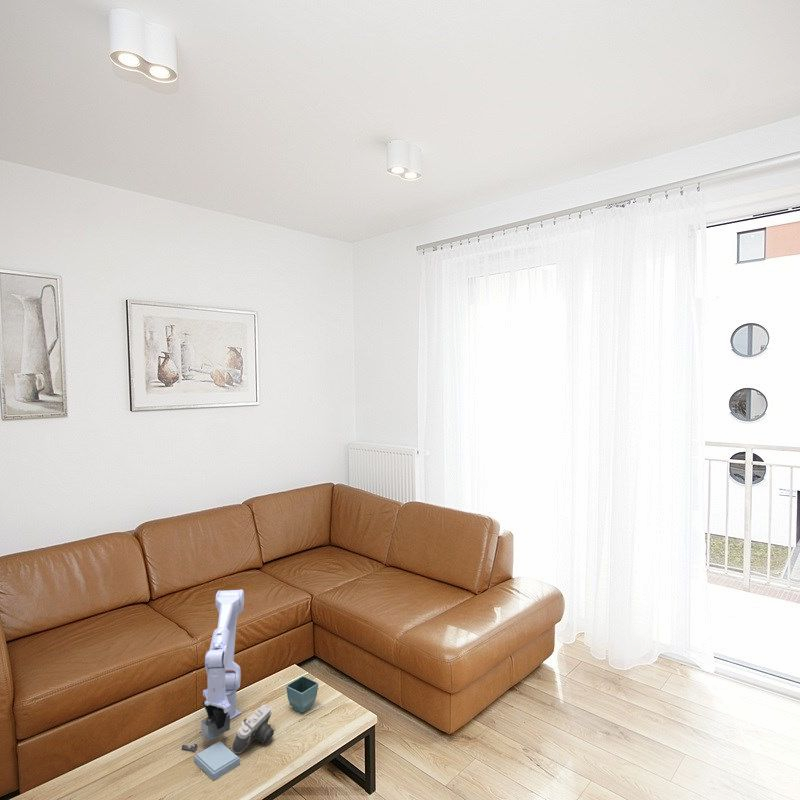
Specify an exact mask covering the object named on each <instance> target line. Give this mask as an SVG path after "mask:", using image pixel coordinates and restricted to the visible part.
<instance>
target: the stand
mask: <svg viewBox="0 0 800 800" xmlns="http://www.w3.org/2000/svg"><path fill="white" fill-rule="evenodd" d="M236 754H237V753H234V752H233V751H232V749H230V748H228V747H227V746H226V745H225V744H224V743H223V742H222V741H220V740H219V741H217V742H215V743H214V744H212V745H210V746H209V747H206V748H205V749H203V750H201V751H200V752H198V753H196V754H195V755H193V756H194V757H193V762H194V763H195V764H196V765H197V766H198V767H199V768H200V769H201V770H202V771H203V772H204V773H205V774H206V775H207V776H208V777H209V778H210V779H211V780H212V781H216V780H217V779H219V778H221V777H222V776H223V775H225V774H227V773H228V772H230V771H231V770H234V769H235V768H237V767H238V766H240V765H241V762H240V761H241V760H240V759H241V758H240V757H239V756H238V754H237V755H236Z"/></svg>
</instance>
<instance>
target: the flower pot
mask: <svg viewBox="0 0 800 800" xmlns="http://www.w3.org/2000/svg"><path fill="white" fill-rule="evenodd" d="M285 688H286V697H287V701H288V703H289V705H290V706H291V707H292V709H293V710H295V711H297V712H299V713H301V714H303V713H304V712H306V711H307V710H309V709H311V708H312V706H313V705H314V703H315V702H316V699H317V696H318V695H317V694H318V690H319V682H317V681H315V680H313V679H311V678H308V677H306V676H305V675H302V676H299V677H298V678H296V679H295V680H293V681H291V682H289V683H288V684H286V686H285Z"/></svg>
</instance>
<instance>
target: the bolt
mask: <svg viewBox="0 0 800 800" xmlns="http://www.w3.org/2000/svg"><path fill="white" fill-rule="evenodd" d="M181 750H186V751H192V752H196V751H197V750H198V744H197V743H193V745H188V744H182V745H181Z"/></svg>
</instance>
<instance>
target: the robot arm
mask: <svg viewBox="0 0 800 800" xmlns="http://www.w3.org/2000/svg"><path fill="white" fill-rule="evenodd" d="M244 604H245V591H244V590H243V589H230V590H218V591H217V592H216V593H215V602H214V605H215V607H216V610H217V612H218V620H217V621H218V622H217V628H215V629H214V630H213V631H212V634H211V635H212V636H211V641H210V645H209V649H208V650H207V651H206V653H205V658H204V667H205V673H206V675H207V678H206V679H207V685H206V686H207V688H206V689H203V690H202V696H203V697H204V698H205V700H204V701H202V705H203V707H204V709H205V711H206V713H207V718H208V717H210V716H211V715H213V714H214V715H215V718H216V725H217V729H220V728H222V727H224V724H225V720H226V716H227V714H229V715H230V720H233V719H234V718H236V717H237V716H240V715H241V714H242V711H241V710H239V709H238V708H237V691H238V690H239V689H240V686H241V679H242V673H241V672H242V671H241V669H242V668H241V666H240V665H239V664H238V663H237V662H235V661H234V660H235V649H236V648H235V647H236V635H237V622H238V616H239V614H240V613H242V612H244Z"/></svg>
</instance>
